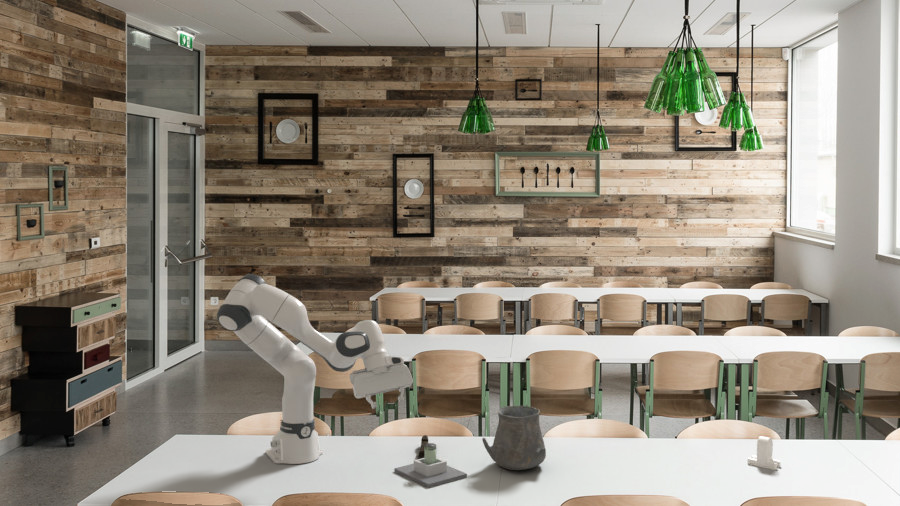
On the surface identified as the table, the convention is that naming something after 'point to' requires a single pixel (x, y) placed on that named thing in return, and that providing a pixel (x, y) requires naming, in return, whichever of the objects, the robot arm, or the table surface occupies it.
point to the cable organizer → (764, 454)
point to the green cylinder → (430, 453)
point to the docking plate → (430, 472)
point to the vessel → (517, 439)
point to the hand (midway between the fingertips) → (388, 404)
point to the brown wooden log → (423, 446)
